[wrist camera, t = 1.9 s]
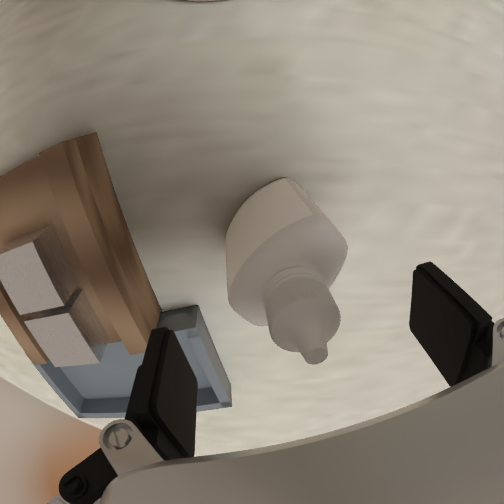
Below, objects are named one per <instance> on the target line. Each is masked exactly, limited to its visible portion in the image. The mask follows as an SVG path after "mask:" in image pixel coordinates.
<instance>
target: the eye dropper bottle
mask: <svg viewBox="0 0 504 504" xmlns="http://www.w3.org/2000/svg"><path fill="white" fill-rule="evenodd" d="M347 249H348V246H347V243H346V241H345V239H344V237H343V236H342V234H341V233H340V232H339V231H338V229H337V228H336V227H335V226H334V224H333V223H332V222H331V221H330V220H329V219H328V217H327V216H326V215H325V214H324V213H323V212H322V210H321V209H320V208H319V207H318V206H317V205H316V204H315V203H314V201H313V200H312V199H311V198H310V197H309V196H308V195H307V194H306V193H305V191H304V190H303V189H302V188H301V187H300V186H299V185H298V184H297V183H296V182H295V181H293V180H292V179H290V178H282V179H279V180H276V181H274V182H272V183H270V184H268V185H266V186H264V187H262V188H261V189H259V190H258V191H256V192H255V193H254V194H253V195H251V196H250V197H249V198H248V199H247V200H246V201H245V202H244V203H243V204H242V206H241V207H240V208H239V210H238V211H237V212H236V214H235V216H234V217H233V219H232V221H231V223H230V225H229V228H228V230H227V233H226V268H227V290H228V300H229V304H230V305H231V307H232V308H233V310H234V311H236V312H237V313H238V314H239V315H240V316H242V317H243V318H244V319H246V320H247V321H249V322H251V323H252V324H254V325H257V326H269V331H270V335H271V337H272V339H273V341H274V342H275V344H277V346H280V348H282V349H285V350H287V351H291V352H300V353H301V354H302V356H303V357H304V359H305V361H306V362H307V363H309V364H319V363H321V362H323V361H324V360H325V359H326V358H327V356H328V351H327V342H328V341H329V340H330V339H331V338H332V337H333V336H334V335H335V333H336V332H337V330H338V327H339V324H340V321H341V320H340V318H341V317H340V311H339V309H338V307H337V305H336V303H335V301H334V299H333V297H332V295H331V293H330V291H329V288H330V287H331V285H332V284H333V282H334V281H335V279H336V277H337V275H338V274H339V272H340V270H341V268H342V266H343V263H344V261H345V258H346V255H347Z"/></svg>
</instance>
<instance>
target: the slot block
mask: <svg viewBox="0 0 504 504" xmlns="http://www.w3.org/2000/svg"><path fill="white" fill-rule="evenodd" d="M51 224H54V227H55V229H56V232H57V234H58V236H59V239H60V241H61V243H62V246H63V248H64V250H65V252H66V255H67V257H68V259H69V261H70V263H71V265H72V267H73V270H74V272H75V274H76V276H77V278H78V280H79V282H80V283H79V284H78V286H77V287H76V289H75V290H74V291H77V290H81V289H83V290H84V292H85V294H86V296H87V298H88V299H89V301H90V303H91V305H92V307H93V309H94V311H95V312H96V314H97V316H98V318H99V320H100V321H101V323H102V325H103V327H104V328H105V330H106V332H107V333H108V335H109V337H110V338H109V341H108V343H115V342H123V344H124V346H125V347H126V349H127V351H128V352H129V354H130V355H133V354H140V353H145V351H146V347H147V344H148V340H149V337H150V333H151V330H152V329H156V328H157V324H158V320H159V316H160V312H161V307H160V305H159V303H158V301H157V299H156V296H155V294H154V292H153V289H152V287H151V285H150V282H149V280H148V278H147V275H146V273H145V271H144V268H143V266H142V263H141V261H140V259H139V256H138V254H137V251H136V249H135V246H134V243H133V241H132V238H131V236H130V233H129V230H128V228H127V225H126V222H125V220H124V217H123V214H122V211H121V209H120V206H119V203H118V200H117V197H116V194H115V191H114V188H113V185H112V182H111V179H110V176H109V173H108V170H107V167H106V164H105V160H104V157H103V154H102V150H101V147H100V144H99V140H98V137H97V133H93V134H89V135H85V136H82V137H78V138H74V139H71V140H68V141H64V142H61V143H59V144H57V145H55V146H53V147H51V148H49V149H47V150H45V151H43V152H41V153H40V155H39V156H37V157H35V158H33V159H32V160H30V161H28V162H26V163H24V164H22V165H20V166H19V167H17V168H15V169H13V170H11V171H10V172H8V173H6V174H5V175H3V176H1V177H0V249H2V248H3V247H4V246H5V245H6V244H7V243H9V242H10V241H11V240H14V239H16V238H18V237H21V236H23V235H26V234H28V233H31V232H33V231H36V230H38V229H41V228H43V227H46V226H49V225H51ZM0 314H1V316H2V318H3V319H4V321H5V323H6V324H7V326H8V327H9V329H10V330H11V332H12V333H13V335H14V336H15V338H16V339H17V341H18V342H19V344H20V345H21V347H22V348H23V350H24V351H25V352H26V354H27V355H28V357H29V358H30V359H31V361H32V362H33V363H34V365H38V364H47V363H48V361H49V358H48V357H47V355H46V354H45V352H44V351H43V350H42V348H41V347H40V345H39V344H38V342H37V341H36V339H35V338H34V336H33V335H32V333H31V332H30V330H29V329H28V327H27V326H26V324H25V322H24V321H25V319H26V318H27V316H28V315H29V313H27V314H22V315H20V314H19V312H18V311H17V309H16V307H15V306H14V304H13V302H12V300H11V299H10V297H9V295H8V293H7V291H6V290H5V288H4V286H3V284H2V282H1V280H0Z"/></svg>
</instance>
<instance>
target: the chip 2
mask: <svg viewBox="0 0 504 504" xmlns="http://www.w3.org/2000/svg"><path fill="white" fill-rule="evenodd" d="M24 322H25V324H26V326H27V327H28V329H29V330H30V332H31V333H32V335H33V336H34V338H35V339H36V341H37V342H38V344H39V345H40V347H41V348H42V350H43V351H44V352H45V354H46V355H47V357H48V358H49V359H50V361H51V362H52V364H53V365H54V366H55V367H65V366H76V365H87V364H97V363H100V362H101V359H102V357H103V354H104V351H105V349H106V346H107V344H108V341H109V338H110V337H109V335H108V333H107V332H106V330H105V328H104V327H103V325H102V323H101V321H100V320H99V318H98V316H97V314H96V312H95V311H94V309H93V307H92V305H91V303H90V301H89V299H88V298H87V296H86V294H85V292H84V290H83V289H81V290H77V291H74V292H73V293H72V295H71V296H70V298H69V299H68V301H67V302H66V304H65V305H64V306H60V307H56V308H51V309H46V310H41V311H37V312H32V313H29V315H28V316H27V318H26V319H25V321H24Z"/></svg>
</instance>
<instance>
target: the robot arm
mask: <svg viewBox="0 0 504 504" xmlns="http://www.w3.org/2000/svg"><path fill="white" fill-rule="evenodd" d="M189 1H219V0H189ZM491 320H492V317H491V316H490V315H489V314H488V313H487V312H486V311H485V310H484V309H483V308H482V307H481V306H480V305H479V304H478V303H477V302H476V301H475V300H473V299H472V298H471V297H470V296H469V295H468V294H467V293H466V292H465V291H464V290H463V289H462V288H461V287H459V286H458V285H457V284H456V283H455V282H454V281H453V280H452V279H450V278H449V277H448V276H447V275H446V274H445V273H444V272H443V271H441V270H440V269H439V268H438V267H437V266H436V265H434V264H433V263H432V262H426V263H423V264H420V265H418V266H417V267H416V270H414V272H413V284H412V299H411V311H410V321H409V326H410V330H411V332H412V333H413V334H414V336H415V337H416V339H417V340H418V341H419V343H420V344H421V345H422V347H423V348H424V350H425V351H426V352H427V354H428V355H429V357H430V358H431V359H432V361H433V362H434V364H435V365H436V367H437V368H438V370H439V371H440V372H441V374H442V375H443V377H444V378H445V380H446V381H447V383H448V384H449V386H451V387H450V388H448V389H445V390H443V391H441V392H439V393H437V394H435V395H432V396H430V397H428V398H425V399H423V400H421V401H418V402H416V403H414V404H411V405H409V406H406V407H404V408H401V409H398V410H396V411H393V412H390V413H388V414H385V415H382V416H379V417H376V418H374V419H371V420H368V421H365V422H362V423H358V424H355V425H352V426H349V427H346V428H342V429H339V430H335V431H332V432H328V433H324V434H321V435H317V436H313V437H309V438H305V439H300V440H296V441H292V442H287V443H282V444H277V445H272V446H267V447H262V448H256V449H250V450H243V451H237V452H230V453H223V454H216V455H207V456H198V457H194V452H195V429H196V409H197V391H198V382H197V378H196V376H195V374H194V372H193V370H192V368H191V366H190V364H189V362H188V360H187V358H186V356H185V354H184V352H183V349H182V347H181V345H180V343H179V341H178V339H177V337H176V334H175V332H174V331H173V330H172V329H171V330H169V329H168V328H167V327H161V328H156V329H152V330H151V333H150V337H149V340H148V344H147V347H146V351H145V354H144V358H143V362H142V365H140V366H139V367H138V369H137V372H136V376H135V380H134V383H133V387H132V391H131V395H130V399H129V403H128V407H127V411H126V415H125V419H119V420H115V421H113V422H111V423H109V424H108V425H106V426H105V427H104V429H103V430H102V431H101V433H100V436H99V444H100V446H101V448H99V449H98V450H97V451H95V452H94V453H93V454H92V455H90V456H89V457H87V458H86V459H85V460H83V461H82V462H81V463H79V464H78V465H76V466H75V467H74V468H72V469H71V470H70V471H68V472H67V473H66V474H65V475H64V476H63V477H62V478H61V480H60V483H59V492H60V495H59V496H58V497H56V496H55V495H54V497H53V498H52V499H51V500H50V502H49V503H48V504H504V318H503V319H500V320H498V321H497V322H496V323H495V324H494V323H493V322H492V321H491Z"/></svg>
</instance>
